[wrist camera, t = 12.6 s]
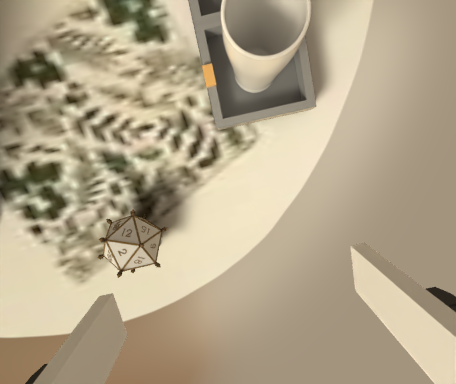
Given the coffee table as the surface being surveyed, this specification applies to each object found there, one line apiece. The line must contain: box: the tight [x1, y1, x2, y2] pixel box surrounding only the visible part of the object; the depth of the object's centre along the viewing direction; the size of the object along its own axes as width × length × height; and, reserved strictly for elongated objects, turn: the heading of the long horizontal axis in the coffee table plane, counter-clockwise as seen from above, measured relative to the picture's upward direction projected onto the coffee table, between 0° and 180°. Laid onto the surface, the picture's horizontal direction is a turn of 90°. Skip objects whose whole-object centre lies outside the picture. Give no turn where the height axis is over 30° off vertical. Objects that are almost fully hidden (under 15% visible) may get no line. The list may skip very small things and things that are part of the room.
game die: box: [98, 210, 167, 278], centre depth 35 cm, size 9×8×10 cm
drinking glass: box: [221, 0, 311, 93], centre depth 26 cm, size 7×7×15 cm
